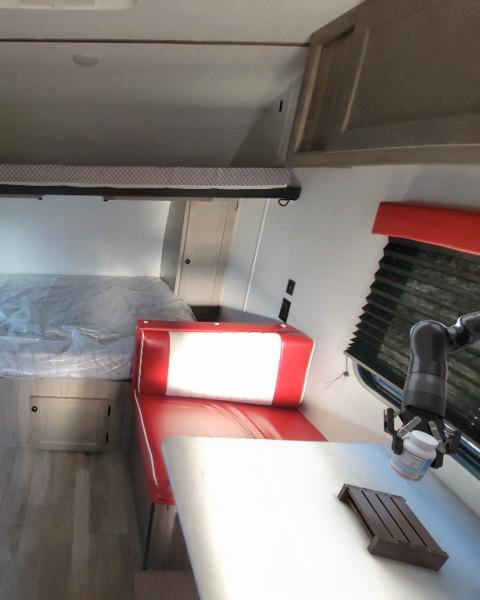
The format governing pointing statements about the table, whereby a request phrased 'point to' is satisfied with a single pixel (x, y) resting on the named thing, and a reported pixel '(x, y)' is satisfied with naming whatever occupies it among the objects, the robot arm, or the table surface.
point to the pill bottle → (414, 456)
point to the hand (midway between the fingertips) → (415, 460)
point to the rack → (393, 527)
